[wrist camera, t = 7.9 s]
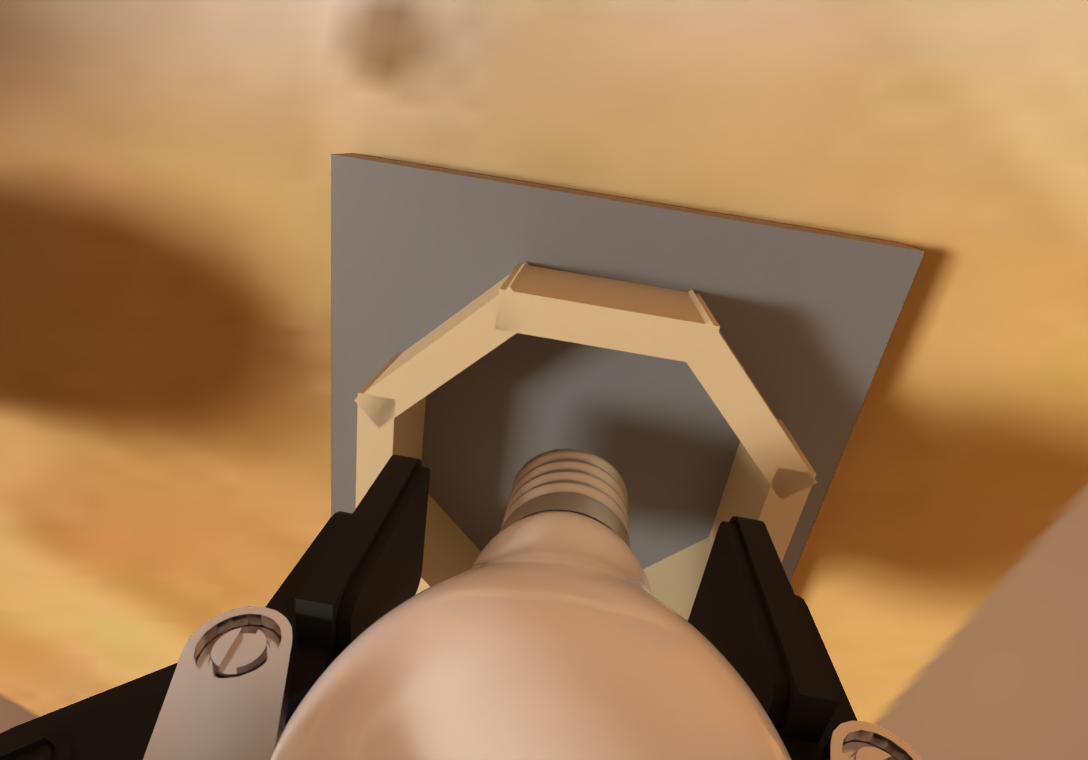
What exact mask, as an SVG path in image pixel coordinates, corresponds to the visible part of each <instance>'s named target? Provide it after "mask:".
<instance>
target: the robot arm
mask: <svg viewBox="0 0 1088 760" xmlns="http://www.w3.org/2000/svg"><path fill="white" fill-rule="evenodd" d="M429 479H430V469H429V468H426V467H422V462H421V460H420V459H417V458H411V457H406V456H400V455H392V456H391V457H390V459H389V460H388V462H387V463H386V465H385V466H384V468H383V469H382V471H381V472H380V474H379V475H378V477H377V478H376V480H375V481H374V483H373V484H372V485H371V487H370V488H369V490H368V491H367V493H366V494H365V496H364V497H363V499H362V500H361V502H360V503H359V505H358V506H357V508H356V509H355V511H354V512H353V514H352V513H347V512H342V511H338V512H336V513H335V514H334V515H333V516H332V517H331V518H330V519H329V521H328V522H327V523H326V525H325V526H324V528H323V529H322V530H321V532H320V533H319V534H318V536H317V537H316V539H315V540H314V541H313V543H312V544H311V545H310V547H309V548H308V550H307V551H306V552H305V554H304V555H303V556H302V558H301V559H300V561H299V562H298V563H297V565H296V566H295V567H294V569H293V570H292V572H291V573H290V574H289V576H288V577H287V578H286V580H285V581H284V582H283V584H282V585H281V587H280V588H279V589H278V591H277V592H276V593H275V595H274V596H273V598H272V599H271V600H270V602H269V603H268V604H267V606H266V607H253V606H248V607H243V608H237V609H232V610H230V611H227V612H225V613H222V614H219V615H217V616H215V617H213V618H212V619H210V620H209V621H207V622H206V623H204V624H202V625H201V626H200V627H199V628H198V629H197V630H196V631H195V632H194V633H193V634H192V635H191V636H190V638H189V639H188V641H187V643H186V645H185V646H184V648H183V650H182V653H181V656H180V658H179V661H178V663H176V664H173V665H171V666H168V667H166V668H163V669H161V670H158V671H156V672H153V673H150V674H148V675H145V676H143V677H140V678H138V679H135V680H133V681H130V682H128V683H125V684H122V685H120V686H117V687H115V688H112V689H110V690H107V691H105V692H102V693H100V694H97V695H95V696H92V697H89V698H87V699H84V700H82V701H79V702H77V703H74V704H72V705H69V706H67V707H64V708H61V709H59V710H56V711H54V712H51V713H49V714H46V715H44V716H41V717H39V718H36V719H34V720H31V721H29V722H26V723H24V724H21V725H18V726H16V727H13V728H11V729H9V730H7V731H5V732H3V733H1V734H0V760H271V757H272V755H273V752H274V750H275V747H276V743H277V741H278V738H279V736H280V734H281V732H282V730H283V729H284V727H285V725H286V723H287V722H288V720H289V719H290V717H291V716H292V714H293V713H294V711H295V710H296V708H297V706H298V705H299V703H300V702H301V701H302V699H303V698H304V696H305V695H306V694H307V692H308V691H309V690H310V688H311V687H312V686H313V684H314V683H315V682H316V681H317V679H318V678H319V677H320V675H321V674H322V673H323V672H324V671H325V670H326V668H327V667H328V666H329V665H330V664H331V663H332V662H333V661H334V659H335V658H336V657H337V656H338V655H339V654H340V653H341V652H342V651H343V650H344V649H345V648H346V647H347V646H348V645H349V644H350V643H351V642H352V641H353V640H354V639H355V638H357V637H358V636H359V635H360V634H361V633H362V632H363V631H364V630H366V629H367V628H368V627H369V626H370V625H372V624H373V623H374V622H375V621H377V620H378V619H379V618H381V617H382V616H383V615H385V614H386V613H388V612H389V611H390V610H392V609H393V608H395V607H396V606H398V605H399V604H401V603H402V602H404V601H406V600H407V599H409V598H411V597H412V596H414V595H416V592H417V590H418V587H419V584H420V580H421V575H422V567H423V554H424V542H425V529H426V517H427V504H428V491H429ZM688 622H690V623H691V624H692V625H693V626H694V627H695V628H696V629H698V630H699V631H700V632H701V633H702V634H703V635H704V636H705V637H706V638H707V639H708V640H709V641H710V642H711V643H712V644H713V645H714V646H715V647H716V648H717V649H718V650H719V651H720V652H721V653H722V654H723V655H724V656H725V658H726V659H727V660H728V661H729V662H730V663H731V664H732V666H733V667H734V668H735V669H736V670H737V672H738V673H739V674H740V675H741V677H742V678H743V679H744V681H745V682H746V683H747V684H748V686H749V687H750V689H751V690H752V691H753V693H754V694H755V696H756V697H757V699H758V700H759V702H760V703H761V704H762V706H763V708H764V709H765V711H766V713H767V714H768V716H769V717H770V719H771V721H772V722H773V724H774V726H775V728H776V730H777V731H778V733H779V735H780V737H781V739H782V741H783V743H784V744H785V746H786V748H787V750H788V753H789V755H790V757H791V759H792V760H923V759H922V758H921V757H920V756H919V755H918V754H917V752H916V751H915V750H914V749H913V748H911V747H910V746H909V745H908V744H907V743H905V742H904V741H903V740H902V739H900V738H899V737H897V736H896V735H894V734H893V733H891V732H889V731H887V730H886V729H884V728H882V727H880V726H877V725H874V724H871V723H868V722H864V721H857V719H856V716H855V714H854V712H853V710H852V707H851V705H850V703H849V700H848V698H847V696H846V694H845V691H844V689H843V687H842V684H841V682H840V680H839V677H838V675H837V673H836V671H835V668H834V666H833V664H832V661H831V659H830V657H829V655H828V652H827V650H826V648H825V645H824V643H823V641H822V639H821V636H820V634H819V632H818V629H817V627H816V625H815V623H814V620H813V618H812V616H811V613H810V611H809V609H808V606H807V605H806V603H805V601H804V600H803V599H802V598H801V597H800V596H797V595H795V594H794V592H793V590H792V587H791V585H790V582H789V580H788V578H787V575H786V573H785V570H784V568H783V566H782V563H781V561H780V559H779V556H778V554H777V551H776V549H775V547H774V544H773V542H772V539H771V537H770V535H769V532H768V530H767V528H766V525H765V524H764V522H763V521H760V520H755V519H749V518H744V517H738V516H733V517H732V518H731V519H730V521H729V522H725V521H722V522H721V523H720V525H719V528H718V531H717V534H716V537H715V540H714V543H713V546H712V549H711V552H710V555H709V558H708V561H707V564H706V567H705V570H704V573H703V576H702V579H701V582H700V585H699V588H698V591H697V594H696V597H695V600H694V604H693V607H692V610H691V613H690V616H689V619H688Z"/></svg>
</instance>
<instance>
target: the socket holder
mask: <svg viewBox="0 0 1088 760" xmlns="http://www.w3.org/2000/svg"><path fill="white" fill-rule="evenodd" d="M924 253H925V251H922V250H919V249H916V248H914V247H911V246H908V245H905V244H902V243H899V242H893V241H887V240H881V239H875V238H869V237H862V236H856V235H850V234H844V233H838V232H832V231H826V230H820V229H814V228H807V227H801V226H795V225H789V224H783V223H777V222H771V221H765V220H758V219H752V218H746V217H740V216H734V215H728V214H722V213H716V212H710V211H703V210H697V209H691V208H685V207H679V206H673V205H667V204H661V203H654V202H648V201H642V200H636V199H630V198H624V197H618V196H612V195H606V194H599V193H593V192H587V191H581V190H575V189H569V188H563V187H557V186H550V185H544V184H538V183H532V182H526V181H520V180H514V179H508V178H502V177H495V176H489V175H483V174H477V173H471V172H465V171H459V170H453V169H446V168H440V167H434V166H428V165H422V164H416V163H410V162H404V161H398V160H391V159H385V158H379V157H373V156H367V155H361V154H355V153H347V154H331V517H332V516H333V515H334V514H335V513H336V512H338V511H342V512H347V513H352V514H353V512H354V511H355V509H356V508H357V506H358V505H359V503H360V502H361V500H362V499H363V497H364V496H365V494H366V493H367V491H368V490H369V488H370V487H371V485H372V484H373V483H374V481H375V480H376V478H377V477H378V475H379V474H380V472H381V471H382V469H383V468H384V466H385V465H386V463H387V462H388V460H389V459H390V457H391V456H392V455H400V456H406V457H411V458H417V459H420V460H421V462H422V467H426V468H429V469H430V479H429V491H428V504H427V517H426V529H425V542H424V554H423V567H422V575H421V580H420V584H419V587H418V590H417V592H416V594H418V593H419V592H421V591H423V590H425V589H427V588H429V587H431V586H433V585H435V584H437V583H439V582H441V581H444V580H446V579H448V578H450V577H453V576H455V575H458V574H460V573H463V572H465V571H468V570H469V569H470V567H471V566H472V564H473V563H474V561H475V559H476V558H477V556H478V555H479V554H480V552H481V551H482V549H483V548H484V547H485V546H486V545H487V544H488V542H489V541H490V540H491V539H492V538H493V537H494V536H496V535H497V534H498V533H499V532H500V530H501V526H502V522H503V519H504V516H505V511H506V508H507V505H508V501H509V497H510V494H511V489H512V485H513V482H514V480H515V477H516V475H517V474H518V472H519V471H520V469H521V468H522V467H523V466H524V465H525V464H526V463H527V462H528V461H529V460H530V459H532V458H533V457H535V456H537V455H539V454H541V453H543V452H546V451H549V450H553V449H559V448H575V449H581V450H585V451H588V452H591V453H594V454H596V455H598V456H600V457H602V458H603V459H605V460H606V461H607V462H609V463H610V464H611V465H612V466H613V467H614V468H615V469H616V470H617V471H618V473H619V474H620V476H621V477H622V479H623V481H624V483H625V486H626V489H627V493H628V507H629V528H630V543H631V550H632V551H633V552H634V554H635V555H636V557H637V558H638V560H639V562H640V563H641V565H642V567H643V569H644V571H645V573H646V576H647V578H648V581H649V583H650V586H651V589H652V592H653V595H654V596H656V597H657V598H659V599H660V600H662V601H663V602H664V603H666V604H667V605H668V606H670V607H671V608H672V609H674V610H675V611H676V612H678V613H679V614H680V615H681V616H682V617H684V618H685V619H686V620H687V621H688V619H689V616H690V613H691V610H692V607H693V604H694V600H695V597H696V594H697V591H698V588H699V585H700V582H701V579H702V576H703V573H704V570H705V567H706V564H707V561H708V558H709V555H710V552H711V549H712V546H713V543H714V540H715V537H716V534H717V531H718V528H719V525H720V523H721V522H722V521H725V522H729V521H730V519H731V518H732V517H733V516H738V517H744V518H749V519H755V520H760V521H763V522H764V524H765V525H766V528H767V530H768V532H769V535H770V537H771V539H772V542H773V544H774V547H775V549H776V551H777V554H778V556H779V559H780V561H781V563H782V566H783V568H784V570H785V573H786V575H787V578H788V580H789V582H790V581H791V578H792V576H793V573H794V571H795V568H796V566H797V563H798V561H799V559H800V556H801V554H802V551H803V549H804V546H805V544H806V541H807V539H808V537H809V534H810V532H811V529H812V527H813V524H814V522H815V519H816V517H817V515H818V512H819V510H820V507H821V505H822V502H823V500H824V497H825V495H826V493H827V490H828V488H829V485H830V483H831V480H832V478H833V475H834V473H835V471H836V468H837V466H838V463H839V461H840V458H841V456H842V453H843V451H844V449H845V446H846V444H847V441H848V439H849V436H850V434H851V431H852V429H853V427H854V424H855V422H856V419H857V417H858V414H859V412H860V409H861V407H862V404H863V402H864V400H865V397H866V395H867V392H868V390H869V387H870V385H871V382H872V380H873V378H874V375H875V373H876V370H877V368H878V365H879V363H880V360H881V358H882V356H883V353H884V351H885V348H886V346H887V343H888V341H889V338H890V336H891V334H892V331H893V329H894V326H895V324H896V321H897V319H898V316H899V314H900V312H901V309H902V307H903V304H904V302H905V299H906V297H907V294H908V292H909V290H910V287H911V285H912V282H913V280H914V277H915V275H916V272H917V270H918V268H919V265H920V263H921V260H922V258H923V255H924Z"/></svg>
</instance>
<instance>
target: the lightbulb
mask: <svg viewBox="0 0 1088 760" xmlns="http://www.w3.org/2000/svg"><path fill="white" fill-rule="evenodd" d="M271 760H792V759H791V757H790V755H789V753H788V750H787V748H786V746H785V744H784V743H783V741H782V739H781V737H780V735H779V733H778V731H777V730H776V728H775V726H774V724H773V722H772V721H771V719H770V717H769V716H768V714H767V713H766V711H765V709H764V708H763V706H762V704H761V703H760V702H759V700H758V699H757V697H756V696H755V694H754V693H753V691H752V690H751V689H750V687H749V686H748V684H747V683H746V682H745V681H744V679H743V678H742V677H741V675H740V674H739V673H738V672H737V670H736V669H735V668H734V667H733V666H732V664H731V663H730V662H729V661H728V660H727V659H726V658H725V656H724V655H723V654H722V653H721V652H720V651H719V650H718V649H717V648H716V647H715V646H714V645H713V644H712V643H711V642H710V641H709V640H708V639H707V638H706V637H705V636H704V635H703V634H702V633H701V632H700V631H699V630H698V629H696V628H695V627H694V626H693V625H692V624H691V623H690V622H688V621H687V620H686V619H685V618H684V617H682V616H681V615H680V614H679V613H678V612H676V611H675V610H674V609H672V608H671V607H670V606H668V605H667V604H666V603H664V602H663V601H662V600H660V599H659V598H657V597H656V596H654V595H653V592H652V589H651V586H650V583H649V581H648V578H647V576H646V573H645V571H644V569H643V567H642V565H641V563H640V562H639V560H638V558H637V557H636V555H635V554H634V552H633V551H632V550H631V543H630V528H629V507H628V493H627V489H626V486H625V483H624V481H623V479H622V477H621V476H620V474H619V473H618V471H617V470H616V469H615V468H614V467H613V466H612V465H611V464H610V463H609V462H607V461H606V460H605V459H603V458H602V457H600V456H598V455H596V454H594V453H591V452H588V451H585V450H581V449H575V448H559V449H553V450H549V451H546V452H543V453H541V454H539V455H537V456H535V457H533V458H532V459H530V460H529V461H528V462H527V463H526V464H525V465H524V466H523V467H522V468H521V469H520V471H519V472H518V474H517V475H516V477H515V480H514V482H513V485H512V489H511V494H510V497H509V501H508V505H507V508H506V511H505V516H504V519H503V522H502V526H501V530H500V532H499V533H498V534H497V535H496V536H494V537H493V538H492V539H491V540H490V541H489V542H488V544H487V545H486V546H485V547H484V548H483V549H482V551H481V552H480V554H479V555H478V556H477V558H476V559H475V561H474V563H473V564H472V566H471V567H470V569H469V570H468V571H465V572H463V573H460V574H458V575H455V576H453V577H450V578H448V579H446V580H444V581H441V582H439V583H437V584H435V585H433V586H431V587H429V588H427V589H425V590H423V591H421V592H419V593H418V594H416V595H414V596H412V597H411V598H409V599H407V600H406V601H404V602H402V603H401V604H399V605H398V606H396V607H395V608H393V609H392V610H390V611H389V612H388V613H386V614H385V615H383V616H382V617H381V618H379V619H378V620H377V621H375V622H374V623H373V624H372V625H370V626H369V627H368V628H367V629H366V630H364V631H363V632H362V633H361V634H360V635H359V636H358V637H357V638H355V639H354V640H353V641H352V642H351V643H350V644H349V645H348V646H347V647H346V648H345V649H344V650H343V651H342V652H341V653H340V654H339V655H338V656H337V657H336V658H335V659H334V661H333V662H332V663H331V664H330V665H329V666H328V667H327V668H326V670H325V671H324V672H323V673H322V674H321V675H320V677H319V678H318V679H317V681H316V682H315V683H314V684H313V686H312V687H311V688H310V690H309V691H308V692H307V694H306V695H305V696H304V698H303V699H302V701H301V702H300V703H299V705H298V706H297V708H296V710H295V711H294V713H293V714H292V716H291V717H290V719H289V720H288V722H287V723H286V725H285V727H284V729H283V730H282V732H281V734H280V736H279V738H278V741H277V743H276V747H275V750H274V752H273V755H272V757H271Z"/></svg>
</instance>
